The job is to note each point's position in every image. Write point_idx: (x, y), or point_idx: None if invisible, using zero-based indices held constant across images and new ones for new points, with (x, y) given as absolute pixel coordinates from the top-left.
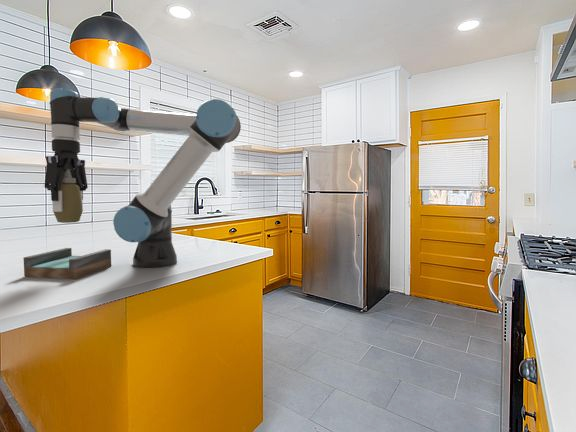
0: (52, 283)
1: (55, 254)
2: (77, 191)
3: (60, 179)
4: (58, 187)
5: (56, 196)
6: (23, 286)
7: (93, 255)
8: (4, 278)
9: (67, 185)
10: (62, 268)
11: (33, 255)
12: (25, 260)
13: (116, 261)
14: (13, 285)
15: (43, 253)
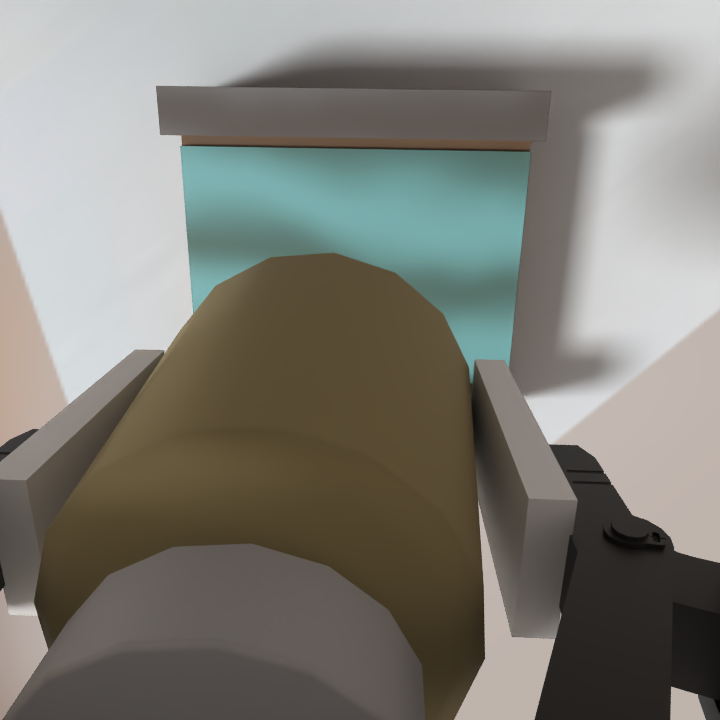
0: (610, 166)
1: None
2: (260, 370)
3: (620, 702)
4: (623, 552)
5: (586, 479)
6: (665, 268)
7: (360, 89)
8: None
9: (424, 532)
10: (525, 188)
11: None
12: None
13: (64, 152)
14: (647, 328)
15: None
